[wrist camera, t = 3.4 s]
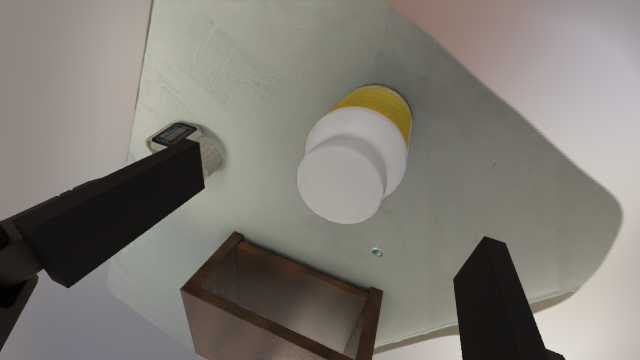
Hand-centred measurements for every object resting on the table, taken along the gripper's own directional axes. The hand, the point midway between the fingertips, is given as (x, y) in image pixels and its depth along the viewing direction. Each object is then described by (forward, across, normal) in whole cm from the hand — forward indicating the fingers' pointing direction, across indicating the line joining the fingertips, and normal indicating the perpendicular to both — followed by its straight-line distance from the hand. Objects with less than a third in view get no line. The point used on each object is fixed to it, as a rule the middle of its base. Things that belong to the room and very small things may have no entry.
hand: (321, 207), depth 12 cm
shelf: (+14, -4, -29) cm, 32 cm away
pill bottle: (+14, 0, 0) cm, 14 cm away
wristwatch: (+14, -20, -9) cm, 26 cm away
